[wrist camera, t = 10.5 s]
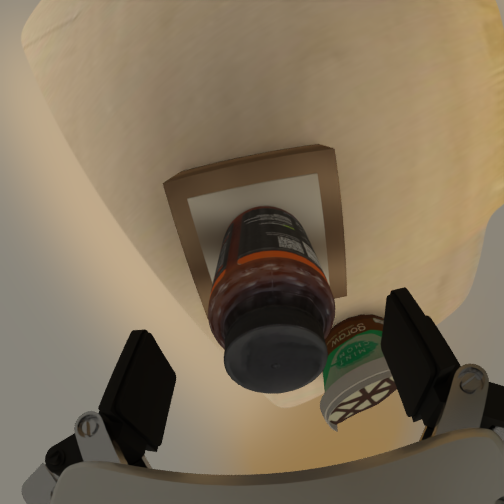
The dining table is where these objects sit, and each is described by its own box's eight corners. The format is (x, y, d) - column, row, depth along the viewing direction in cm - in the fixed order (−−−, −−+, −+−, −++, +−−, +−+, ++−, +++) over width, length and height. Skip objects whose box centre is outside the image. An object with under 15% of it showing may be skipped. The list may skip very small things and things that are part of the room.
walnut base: (180, 171, 23) (161, 184, 18) (318, 144, 22) (335, 149, 17) (215, 288, 28) (207, 321, 23) (333, 267, 27) (347, 297, 22)
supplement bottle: (235, 285, 21) (221, 412, 11) (214, 213, 19) (168, 319, 9) (311, 270, 21) (350, 393, 11) (299, 195, 18) (352, 286, 8)
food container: (370, 286, 28) (408, 350, 19) (396, 313, 29) (430, 373, 20) (289, 350, 32) (297, 420, 23) (320, 370, 33) (333, 433, 24)
